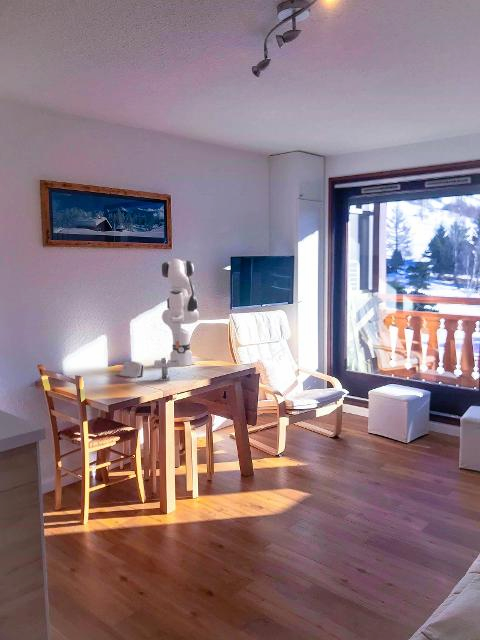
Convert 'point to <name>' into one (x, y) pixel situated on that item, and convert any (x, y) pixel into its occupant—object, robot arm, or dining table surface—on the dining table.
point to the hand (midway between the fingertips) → (177, 340)
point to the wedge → (177, 344)
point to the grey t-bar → (165, 367)
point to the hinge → (132, 369)
